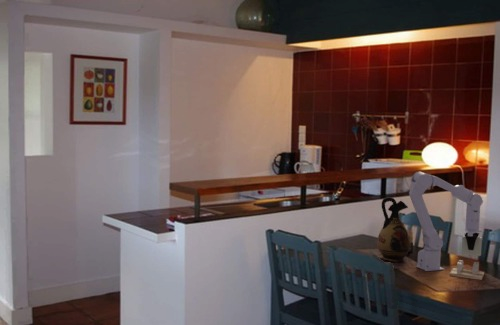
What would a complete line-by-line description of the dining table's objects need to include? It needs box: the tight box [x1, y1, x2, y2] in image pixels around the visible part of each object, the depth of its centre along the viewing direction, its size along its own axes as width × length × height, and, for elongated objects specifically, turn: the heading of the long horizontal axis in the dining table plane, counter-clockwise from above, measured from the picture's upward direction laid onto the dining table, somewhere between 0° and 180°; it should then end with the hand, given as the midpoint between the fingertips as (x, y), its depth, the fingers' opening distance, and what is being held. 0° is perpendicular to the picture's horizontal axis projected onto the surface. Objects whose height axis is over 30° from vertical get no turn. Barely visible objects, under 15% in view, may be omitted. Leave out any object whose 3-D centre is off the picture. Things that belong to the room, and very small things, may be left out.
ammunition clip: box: [407, 228, 414, 253], centre depth 292 cm, size 11×2×12 cm, turn 101°
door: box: [461, 235, 483, 257], centre depth 263 cm, size 3×8×8 cm, turn 63°
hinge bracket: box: [449, 259, 485, 281], centre depth 253 cm, size 10×13×5 cm
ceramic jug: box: [376, 196, 411, 263], centre depth 277 cm, size 17×15×30 cm
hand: (471, 249), depth 263 cm, fingers closed on door, 2 cm apart
